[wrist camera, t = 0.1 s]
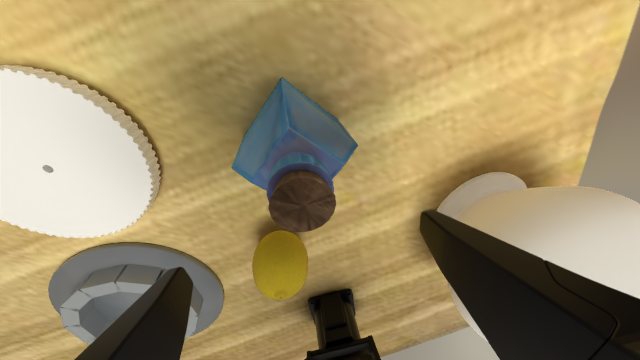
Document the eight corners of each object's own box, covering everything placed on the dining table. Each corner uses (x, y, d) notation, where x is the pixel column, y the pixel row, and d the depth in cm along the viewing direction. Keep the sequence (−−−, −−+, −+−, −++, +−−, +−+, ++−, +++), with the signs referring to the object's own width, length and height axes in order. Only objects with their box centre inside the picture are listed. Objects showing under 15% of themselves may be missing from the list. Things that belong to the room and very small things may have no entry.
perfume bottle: (243, 137, 21) (208, 224, 11) (281, 77, 19) (283, 113, 9) (300, 170, 24) (315, 268, 13) (338, 120, 22) (392, 189, 11)
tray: (243, 318, 34) (240, 341, 31) (116, 349, 33) (102, 374, 30) (187, 226, 25) (176, 247, 22) (10, 265, 24) (-23, 291, 21)
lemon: (311, 221, 27) (321, 281, 20) (295, 254, 29) (300, 319, 22) (263, 211, 25) (256, 273, 18) (251, 247, 27) (241, 315, 21)
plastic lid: (57, 235, 23) (34, 255, 21) (-103, 92, 16) (-162, 100, 14) (193, 198, 24) (185, 214, 21) (95, 41, 16) (67, 40, 14)
